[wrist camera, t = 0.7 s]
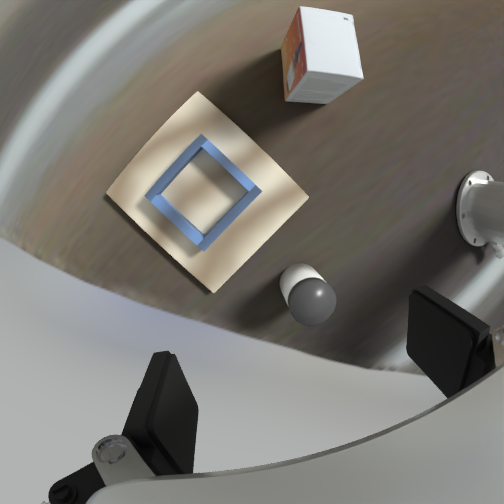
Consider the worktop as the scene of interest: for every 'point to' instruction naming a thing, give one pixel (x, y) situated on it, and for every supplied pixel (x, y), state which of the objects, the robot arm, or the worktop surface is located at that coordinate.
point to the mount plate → (206, 192)
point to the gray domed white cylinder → (307, 294)
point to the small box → (320, 56)
